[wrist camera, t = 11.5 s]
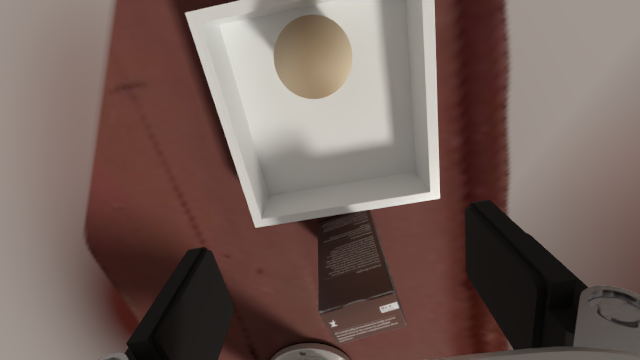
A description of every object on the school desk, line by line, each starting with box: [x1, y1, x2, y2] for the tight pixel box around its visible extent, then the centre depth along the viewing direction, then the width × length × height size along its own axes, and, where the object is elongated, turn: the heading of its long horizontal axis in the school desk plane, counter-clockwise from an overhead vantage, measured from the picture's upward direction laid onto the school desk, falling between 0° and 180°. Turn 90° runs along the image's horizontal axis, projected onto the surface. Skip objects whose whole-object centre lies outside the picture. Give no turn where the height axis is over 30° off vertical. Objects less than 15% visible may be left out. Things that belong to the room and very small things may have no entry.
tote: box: [185, 0, 440, 228], centre depth 26 cm, size 18×17×5 cm
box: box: [318, 210, 407, 345], centre depth 29 cm, size 6×4×12 cm
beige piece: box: [274, 14, 352, 99], centre depth 23 cm, size 5×5×7 cm
